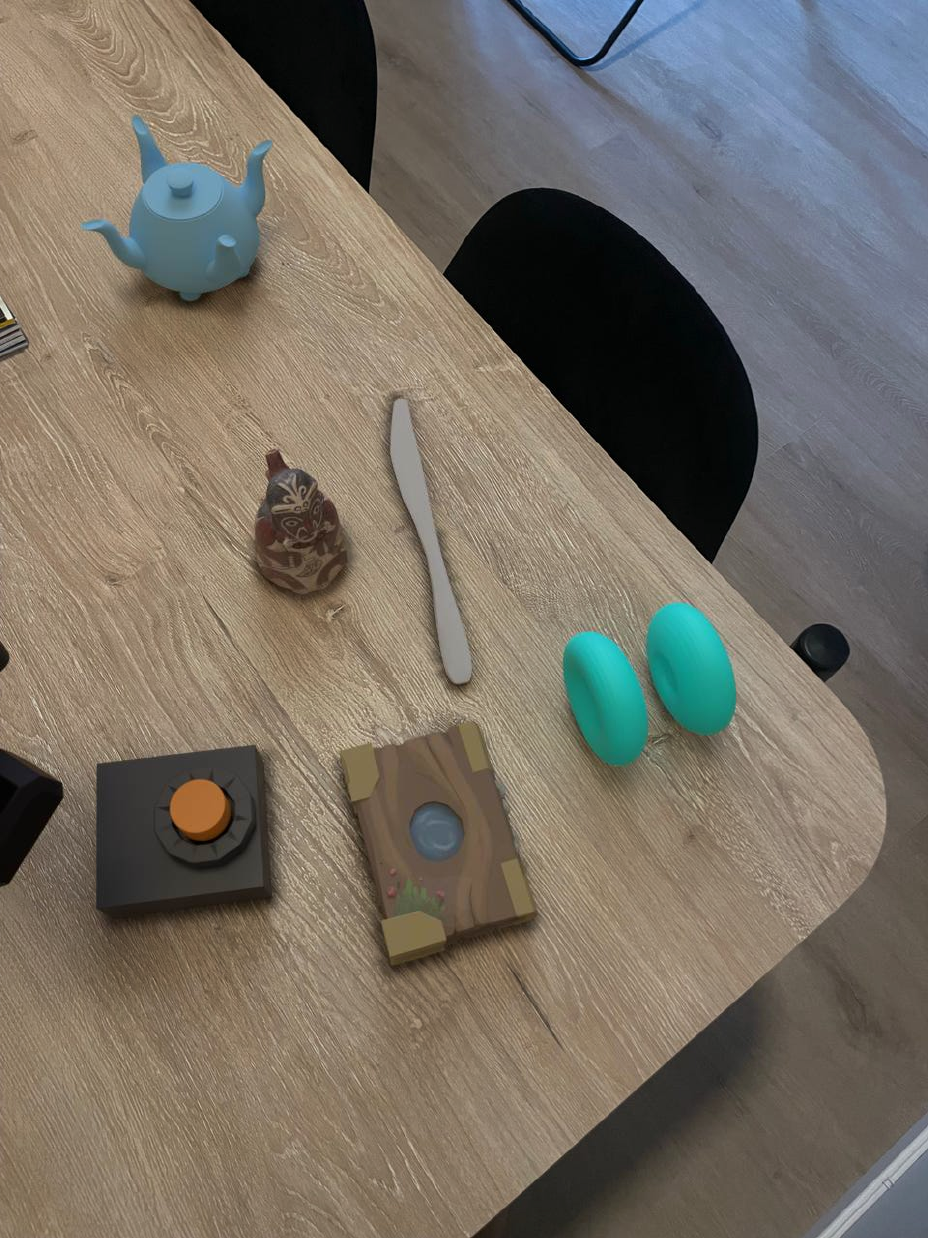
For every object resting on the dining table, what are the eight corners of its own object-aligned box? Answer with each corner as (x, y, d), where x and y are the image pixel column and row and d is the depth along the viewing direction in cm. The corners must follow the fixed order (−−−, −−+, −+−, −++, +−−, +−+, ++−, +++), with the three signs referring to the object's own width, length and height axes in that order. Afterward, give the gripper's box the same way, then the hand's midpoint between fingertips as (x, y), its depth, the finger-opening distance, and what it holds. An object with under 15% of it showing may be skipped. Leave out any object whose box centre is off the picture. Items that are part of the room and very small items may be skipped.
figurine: (272, 605, 85) (250, 530, 74) (246, 531, 88) (221, 449, 77) (358, 577, 86) (349, 499, 75) (330, 505, 89) (317, 420, 78)
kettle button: (177, 844, 71) (170, 836, 69) (176, 792, 73) (168, 782, 71) (232, 837, 72) (226, 829, 70) (229, 785, 73) (224, 775, 71)
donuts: (550, 670, 84) (565, 616, 74) (667, 631, 85) (695, 574, 76) (600, 788, 80) (623, 746, 71) (721, 745, 81) (758, 699, 72)
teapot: (288, 226, 102) (275, 137, 92) (248, 334, 96) (230, 251, 87) (157, 201, 102) (131, 111, 93) (110, 307, 97) (77, 222, 88)
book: (341, 768, 80) (336, 747, 75) (483, 730, 81) (486, 707, 77) (391, 966, 74) (389, 957, 69) (543, 921, 76) (551, 908, 71)
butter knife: (437, 686, 82) (475, 678, 82) (379, 401, 93) (413, 395, 93) (437, 689, 82) (475, 681, 83) (380, 405, 94) (413, 399, 94)
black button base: (112, 919, 75) (88, 904, 69) (112, 780, 79) (89, 755, 73) (272, 898, 76) (260, 881, 70) (263, 762, 80) (251, 736, 74)
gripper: (23, 655, 50) (190, 739, 64) (-212, 515, 57) (-16, 618, 71) (-119, 871, 48) (86, 909, 62) (-343, 696, 55) (-115, 766, 69)
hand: (9, 789), depth 66 cm, fingers closed
